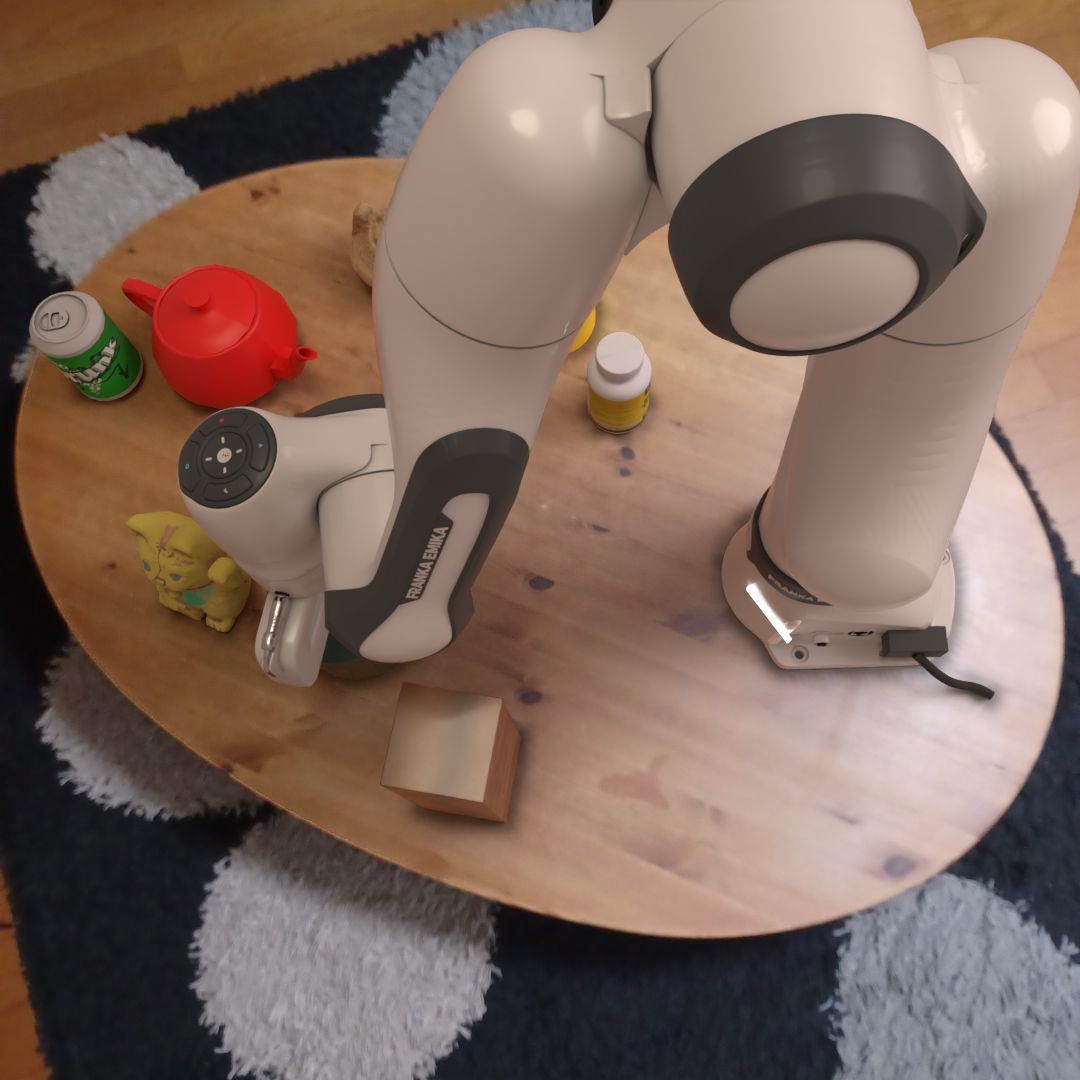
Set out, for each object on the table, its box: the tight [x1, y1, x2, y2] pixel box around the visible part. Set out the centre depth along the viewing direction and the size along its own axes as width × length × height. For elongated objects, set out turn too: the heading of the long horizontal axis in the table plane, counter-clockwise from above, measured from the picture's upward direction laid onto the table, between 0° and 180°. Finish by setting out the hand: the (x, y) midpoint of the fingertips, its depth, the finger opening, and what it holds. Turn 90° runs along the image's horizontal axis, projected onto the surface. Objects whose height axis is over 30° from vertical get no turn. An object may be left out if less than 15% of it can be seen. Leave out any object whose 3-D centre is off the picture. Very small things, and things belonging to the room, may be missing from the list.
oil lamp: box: [349, 201, 388, 288], centre depth 111 cm, size 11×15×8 cm
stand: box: [379, 681, 522, 823], centre depth 86 cm, size 8×8×20 cm
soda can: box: [28, 290, 144, 402], centre depth 107 cm, size 8×8×12 cm
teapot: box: [121, 263, 319, 410], centre depth 106 cm, size 25×16×12 cm, turn 64°
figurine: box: [124, 510, 252, 633], centre depth 96 cm, size 11×9×15 cm
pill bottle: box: [586, 331, 653, 435], centre depth 102 cm, size 6×6×12 cm
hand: (337, 590), depth 92 cm, fingers closed on tin lid, 2 cm apart
